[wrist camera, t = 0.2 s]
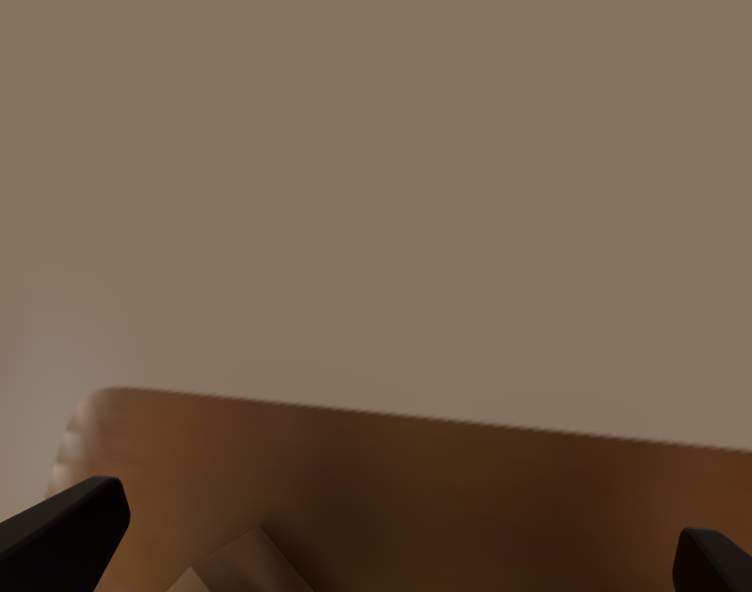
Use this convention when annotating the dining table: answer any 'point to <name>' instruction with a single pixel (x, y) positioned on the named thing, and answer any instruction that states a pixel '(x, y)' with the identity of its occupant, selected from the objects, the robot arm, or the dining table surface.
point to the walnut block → (243, 569)
